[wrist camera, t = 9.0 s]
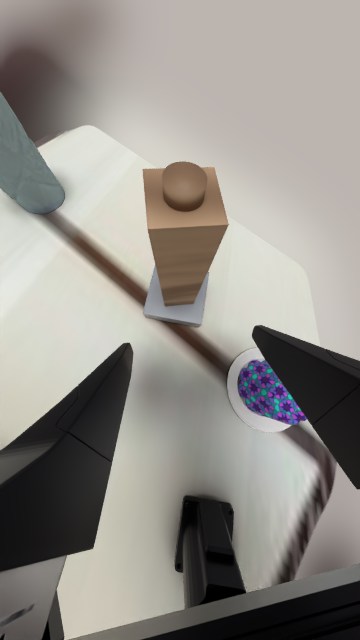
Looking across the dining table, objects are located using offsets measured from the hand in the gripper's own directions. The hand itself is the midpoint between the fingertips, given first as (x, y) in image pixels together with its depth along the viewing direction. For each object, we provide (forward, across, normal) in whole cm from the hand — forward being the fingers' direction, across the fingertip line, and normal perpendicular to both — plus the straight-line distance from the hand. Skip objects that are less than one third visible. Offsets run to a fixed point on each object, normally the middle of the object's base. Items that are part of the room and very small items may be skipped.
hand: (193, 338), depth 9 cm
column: (+12, 0, +1) cm, 13 cm away
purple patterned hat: (+3, -12, +15) cm, 19 cm away
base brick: (+14, 0, +3) cm, 15 cm away
